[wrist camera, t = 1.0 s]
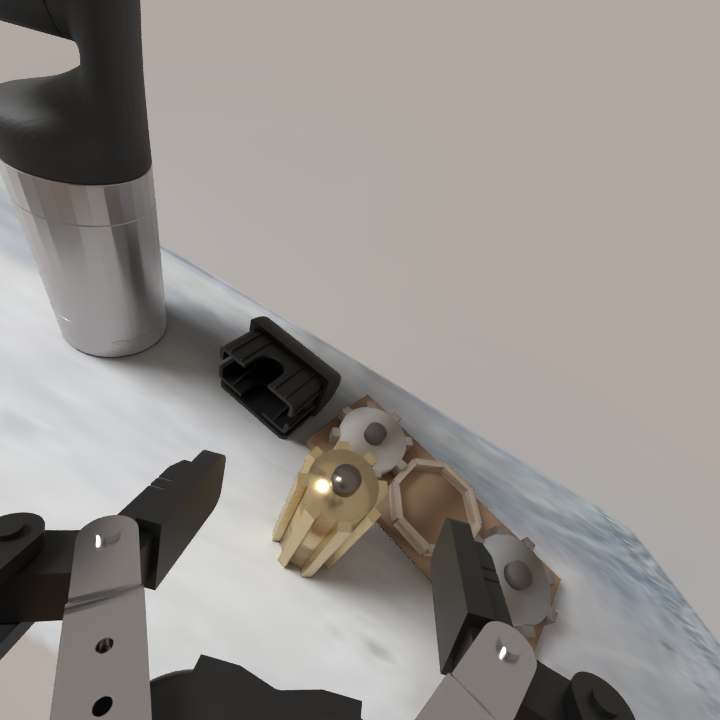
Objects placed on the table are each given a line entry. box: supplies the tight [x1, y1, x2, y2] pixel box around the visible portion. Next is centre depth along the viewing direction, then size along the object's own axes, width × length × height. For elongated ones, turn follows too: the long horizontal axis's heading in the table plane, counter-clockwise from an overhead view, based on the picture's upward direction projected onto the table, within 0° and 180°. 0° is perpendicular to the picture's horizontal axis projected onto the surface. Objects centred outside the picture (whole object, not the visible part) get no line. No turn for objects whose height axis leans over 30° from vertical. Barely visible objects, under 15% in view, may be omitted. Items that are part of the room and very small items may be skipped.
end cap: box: [219, 316, 341, 439], centre depth 37 cm, size 10×7×7 cm
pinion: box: [272, 441, 388, 577], centre depth 27 cm, size 6×6×12 cm
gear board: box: [306, 395, 561, 651], centre depth 34 cm, size 25×9×4 cm, turn 47°
